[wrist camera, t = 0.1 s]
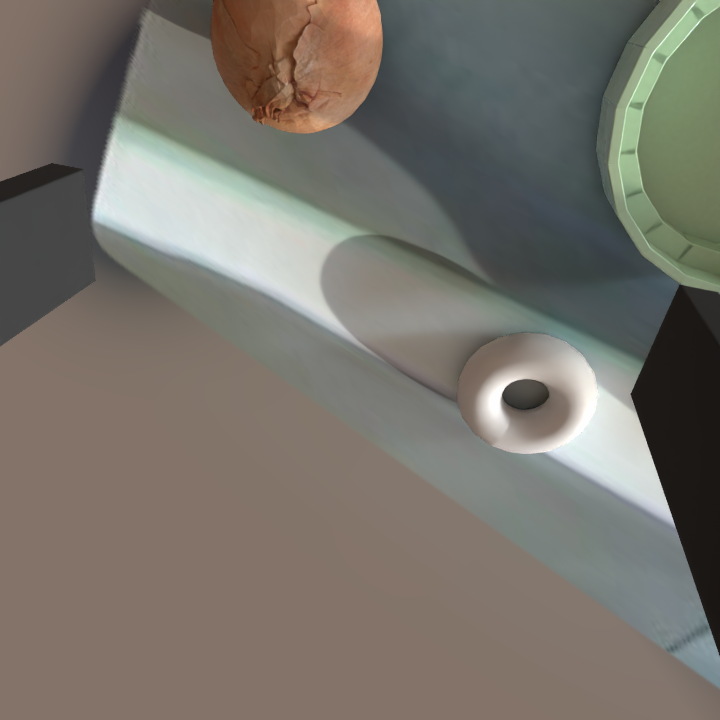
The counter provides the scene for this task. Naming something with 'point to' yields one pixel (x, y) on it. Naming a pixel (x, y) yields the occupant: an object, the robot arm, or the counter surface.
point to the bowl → (668, 140)
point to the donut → (536, 362)
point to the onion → (298, 58)
